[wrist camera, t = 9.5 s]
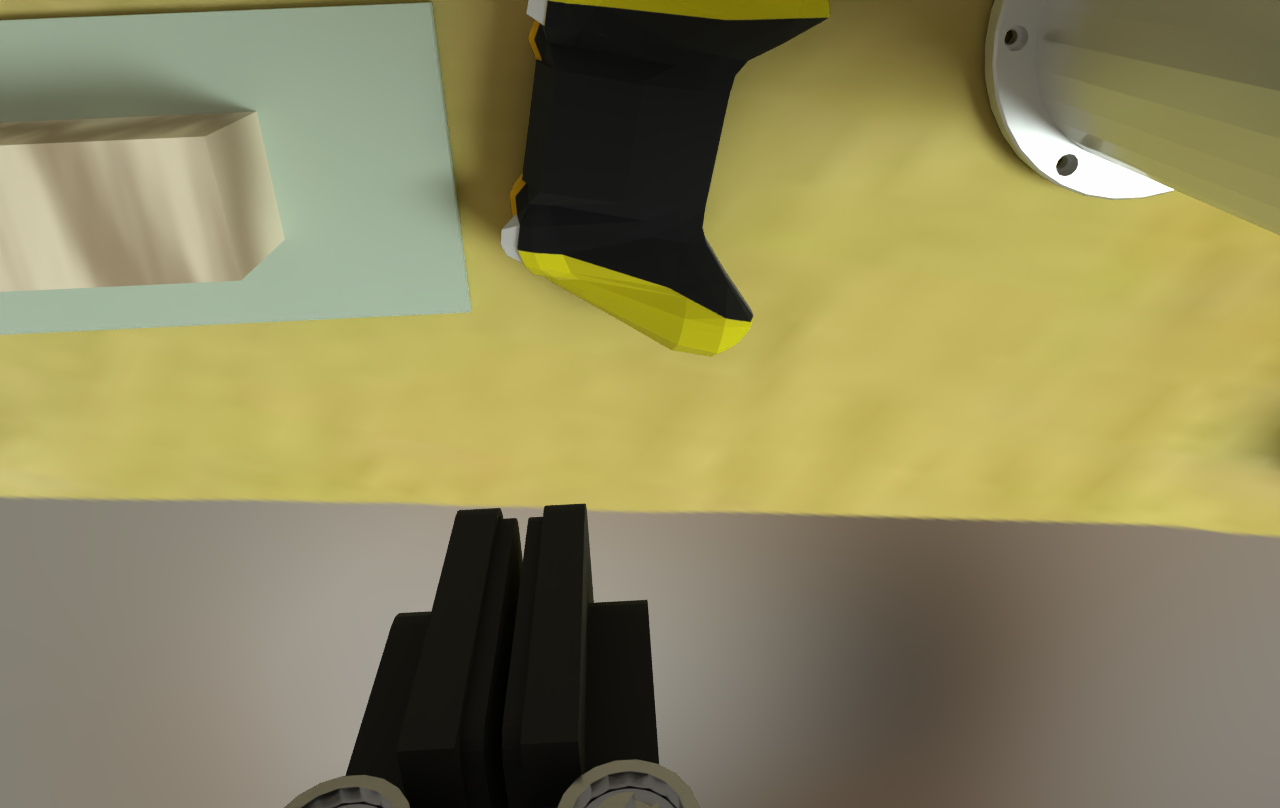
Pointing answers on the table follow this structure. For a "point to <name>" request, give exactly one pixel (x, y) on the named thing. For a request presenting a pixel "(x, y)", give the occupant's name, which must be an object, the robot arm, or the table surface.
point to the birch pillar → (134, 201)
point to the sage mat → (268, 154)
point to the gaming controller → (638, 155)
